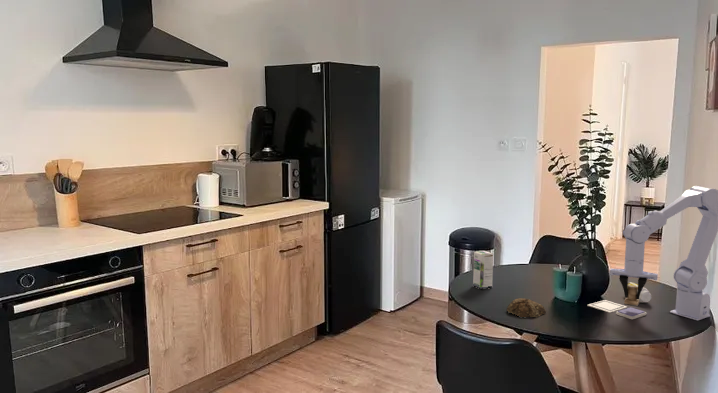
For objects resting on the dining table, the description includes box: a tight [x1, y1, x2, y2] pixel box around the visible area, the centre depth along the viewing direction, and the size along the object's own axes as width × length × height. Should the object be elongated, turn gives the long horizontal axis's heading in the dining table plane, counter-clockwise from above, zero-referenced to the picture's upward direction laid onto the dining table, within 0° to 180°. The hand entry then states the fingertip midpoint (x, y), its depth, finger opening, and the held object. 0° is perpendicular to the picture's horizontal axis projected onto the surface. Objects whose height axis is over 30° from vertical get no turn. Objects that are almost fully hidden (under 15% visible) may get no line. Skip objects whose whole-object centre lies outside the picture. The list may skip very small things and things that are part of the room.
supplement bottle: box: [622, 281, 652, 303], centre depth 202 cm, size 6×6×10 cm
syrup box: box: [472, 250, 494, 287], centre depth 220 cm, size 6×6×14 cm
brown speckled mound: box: [506, 297, 547, 318], centre depth 191 cm, size 13×12×5 cm
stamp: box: [623, 285, 640, 308], centre depth 187 cm, size 4×4×6 cm
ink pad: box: [615, 306, 647, 320], centre depth 188 cm, size 6×8×1 cm
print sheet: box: [587, 299, 628, 314], centre depth 196 cm, size 9×10×1 cm
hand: (632, 297), depth 187 cm, fingers closed on stamp, 3 cm apart
